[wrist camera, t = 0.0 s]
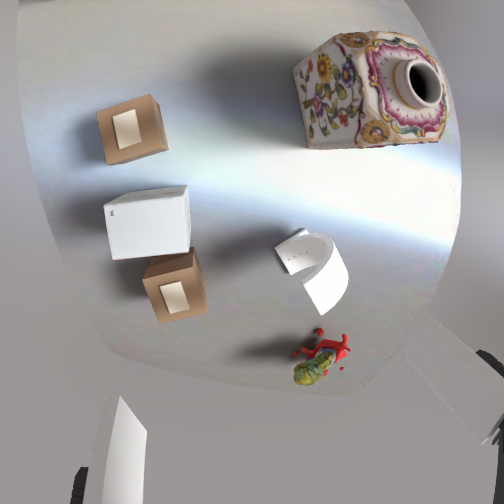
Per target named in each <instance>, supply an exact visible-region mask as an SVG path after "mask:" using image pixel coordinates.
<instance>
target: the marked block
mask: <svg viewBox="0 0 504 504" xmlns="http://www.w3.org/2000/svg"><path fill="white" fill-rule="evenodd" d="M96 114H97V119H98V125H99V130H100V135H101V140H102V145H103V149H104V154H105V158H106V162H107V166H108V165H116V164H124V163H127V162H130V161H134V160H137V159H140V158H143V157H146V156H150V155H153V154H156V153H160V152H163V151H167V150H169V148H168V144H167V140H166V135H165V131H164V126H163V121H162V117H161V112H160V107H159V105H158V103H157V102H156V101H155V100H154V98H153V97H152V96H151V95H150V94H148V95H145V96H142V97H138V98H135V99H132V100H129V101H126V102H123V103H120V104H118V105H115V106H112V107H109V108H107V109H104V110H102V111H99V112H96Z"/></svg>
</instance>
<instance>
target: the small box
mask: <svg viewBox="0 0 504 504" xmlns="http://www.w3.org/2000/svg"><path fill="white" fill-rule="evenodd" d="M104 213H105V220H106V226H107V232H108V238H109V244H110V249H111V254H112V259H113V260H121V259H130V258H139V257H149V256H158V255H168V254H177V253H188V252H189V246H190V234H191V218H190V207H189V196H188V186H187V185H185V186H177V187H168V188H159V189H151V190H144V191H136V192H128V193H126V194H124V195H122V196H120V197H118V198H116V199H114V200H112V201H110V202H108V203H107V204H105V205H104Z"/></svg>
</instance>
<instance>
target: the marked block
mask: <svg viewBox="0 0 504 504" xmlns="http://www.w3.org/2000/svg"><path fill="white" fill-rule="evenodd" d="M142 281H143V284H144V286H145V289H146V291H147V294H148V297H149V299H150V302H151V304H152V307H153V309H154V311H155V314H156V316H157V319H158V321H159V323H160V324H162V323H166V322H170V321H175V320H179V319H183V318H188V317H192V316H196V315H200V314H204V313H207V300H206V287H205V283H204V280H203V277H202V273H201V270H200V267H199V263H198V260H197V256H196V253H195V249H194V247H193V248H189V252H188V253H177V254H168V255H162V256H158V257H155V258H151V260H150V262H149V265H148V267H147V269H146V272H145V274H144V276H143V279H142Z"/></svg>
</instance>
